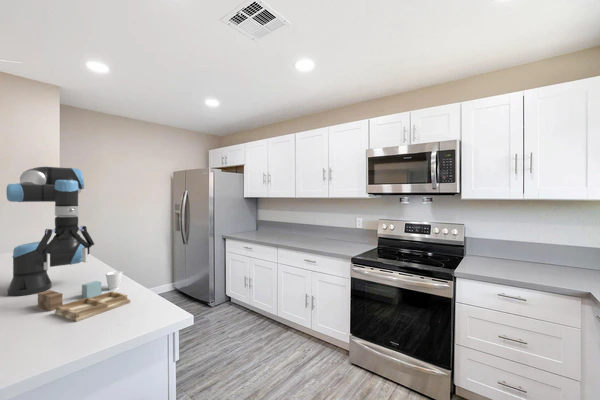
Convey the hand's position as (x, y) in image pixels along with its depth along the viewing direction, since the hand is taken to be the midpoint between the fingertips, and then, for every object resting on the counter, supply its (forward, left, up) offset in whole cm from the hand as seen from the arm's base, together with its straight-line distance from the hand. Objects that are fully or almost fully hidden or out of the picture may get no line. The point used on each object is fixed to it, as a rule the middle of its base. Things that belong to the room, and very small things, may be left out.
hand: (66, 265), depth 114 cm
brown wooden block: (-3, -4, -17) cm, 18 cm away
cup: (-4, +22, -17) cm, 28 cm away
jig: (+14, +4, -17) cm, 22 cm away
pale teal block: (-2, +11, -17) cm, 20 cm away
